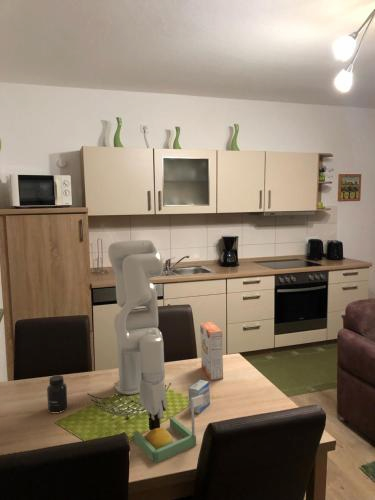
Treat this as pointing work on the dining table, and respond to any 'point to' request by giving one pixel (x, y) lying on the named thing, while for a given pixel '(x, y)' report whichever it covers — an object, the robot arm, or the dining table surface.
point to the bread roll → (159, 438)
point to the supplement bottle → (57, 394)
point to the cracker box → (211, 350)
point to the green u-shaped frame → (177, 446)
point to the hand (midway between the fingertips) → (154, 428)
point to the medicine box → (200, 389)
